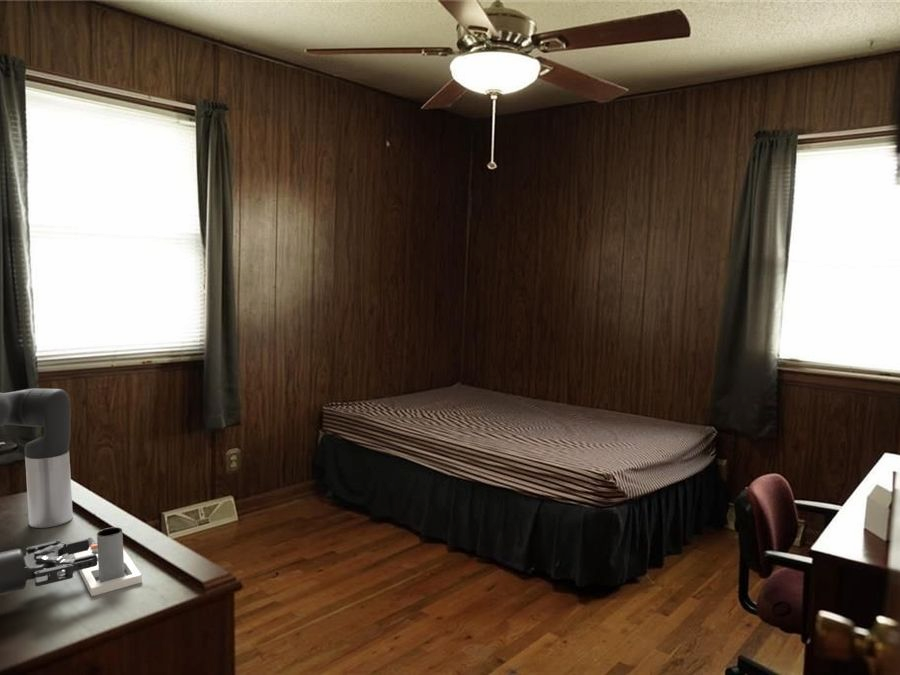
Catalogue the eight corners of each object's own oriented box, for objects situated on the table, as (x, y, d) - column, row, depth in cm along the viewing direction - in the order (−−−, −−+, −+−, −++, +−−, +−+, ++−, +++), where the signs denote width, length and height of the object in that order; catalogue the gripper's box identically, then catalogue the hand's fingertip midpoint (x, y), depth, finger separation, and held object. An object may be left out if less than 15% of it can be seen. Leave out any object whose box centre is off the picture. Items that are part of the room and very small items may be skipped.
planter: (129, 577, 132) (127, 528, 131) (111, 587, 128) (109, 537, 127) (112, 573, 134) (110, 525, 133) (94, 583, 129) (91, 534, 128)
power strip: (67, 547, 145) (66, 538, 145) (111, 537, 151) (111, 528, 151) (91, 596, 124) (91, 585, 124) (141, 582, 130) (141, 572, 130)
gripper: (-6, 570, 112) (99, 545, 122) (-12, 542, 123) (84, 522, 133) (-3, 611, 113) (101, 583, 123) (-9, 580, 124) (86, 556, 134)
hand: (92, 551), depth 128 cm, fingers open, 8 cm apart
